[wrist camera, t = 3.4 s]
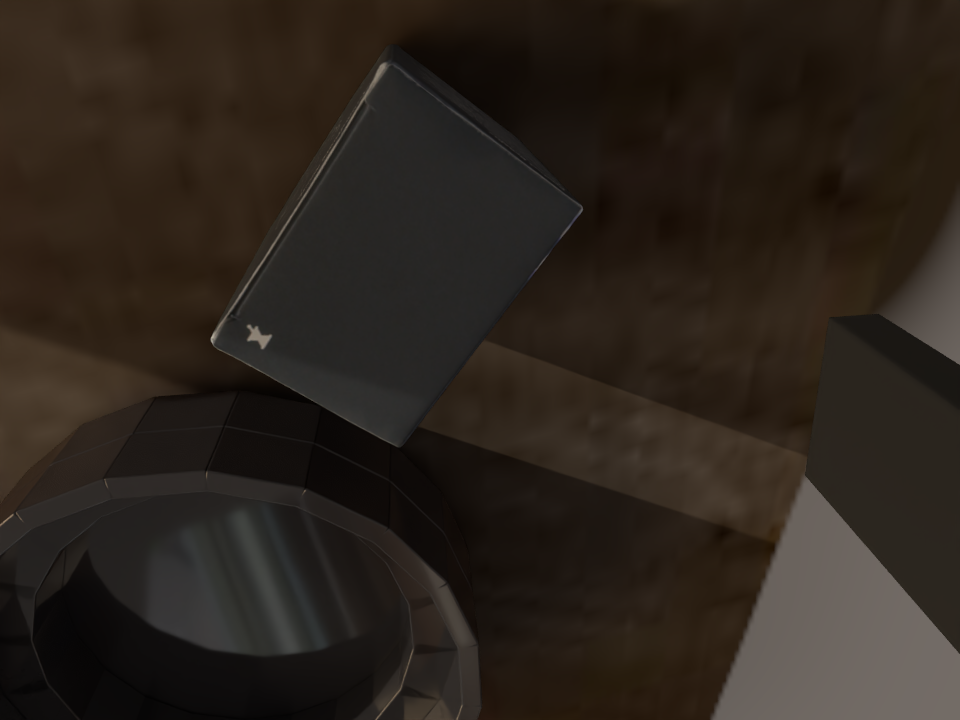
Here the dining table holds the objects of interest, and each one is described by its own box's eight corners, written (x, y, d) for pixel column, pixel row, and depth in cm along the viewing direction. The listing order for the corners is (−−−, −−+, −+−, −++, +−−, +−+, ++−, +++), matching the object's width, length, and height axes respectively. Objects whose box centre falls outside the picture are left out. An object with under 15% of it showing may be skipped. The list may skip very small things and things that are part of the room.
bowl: (73, 761, 37) (11, 902, 31) (-61, 402, 29) (-178, 501, 23) (476, 719, 39) (489, 847, 33) (456, 364, 31) (469, 449, 25)
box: (399, 311, 29) (399, 457, 20) (268, 228, 28) (196, 343, 18) (525, 139, 27) (592, 209, 18) (390, 36, 25) (383, 52, 16)
